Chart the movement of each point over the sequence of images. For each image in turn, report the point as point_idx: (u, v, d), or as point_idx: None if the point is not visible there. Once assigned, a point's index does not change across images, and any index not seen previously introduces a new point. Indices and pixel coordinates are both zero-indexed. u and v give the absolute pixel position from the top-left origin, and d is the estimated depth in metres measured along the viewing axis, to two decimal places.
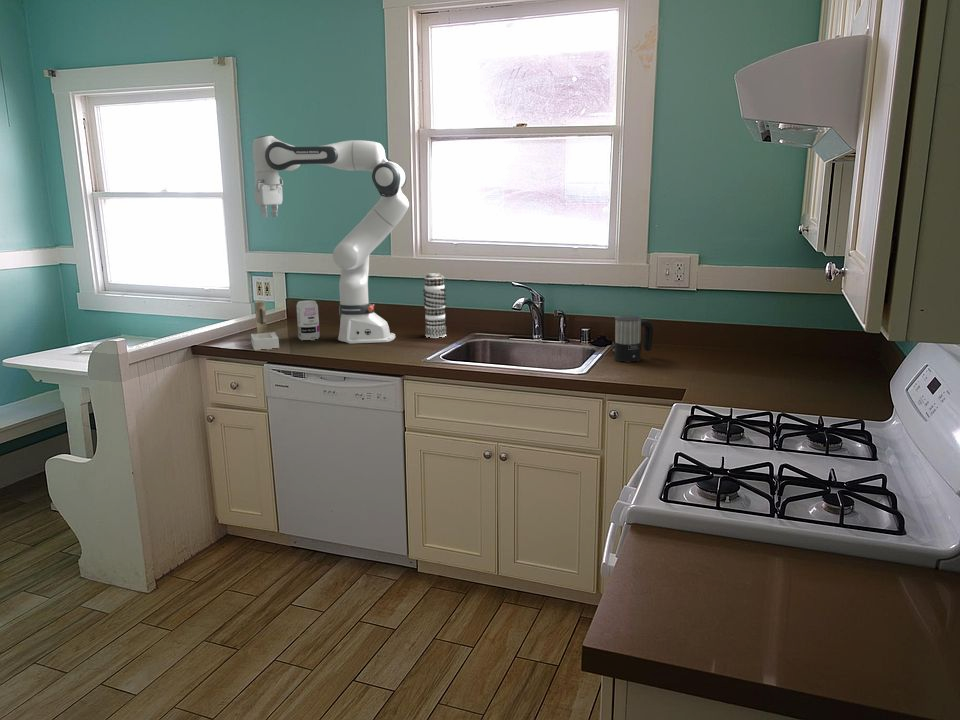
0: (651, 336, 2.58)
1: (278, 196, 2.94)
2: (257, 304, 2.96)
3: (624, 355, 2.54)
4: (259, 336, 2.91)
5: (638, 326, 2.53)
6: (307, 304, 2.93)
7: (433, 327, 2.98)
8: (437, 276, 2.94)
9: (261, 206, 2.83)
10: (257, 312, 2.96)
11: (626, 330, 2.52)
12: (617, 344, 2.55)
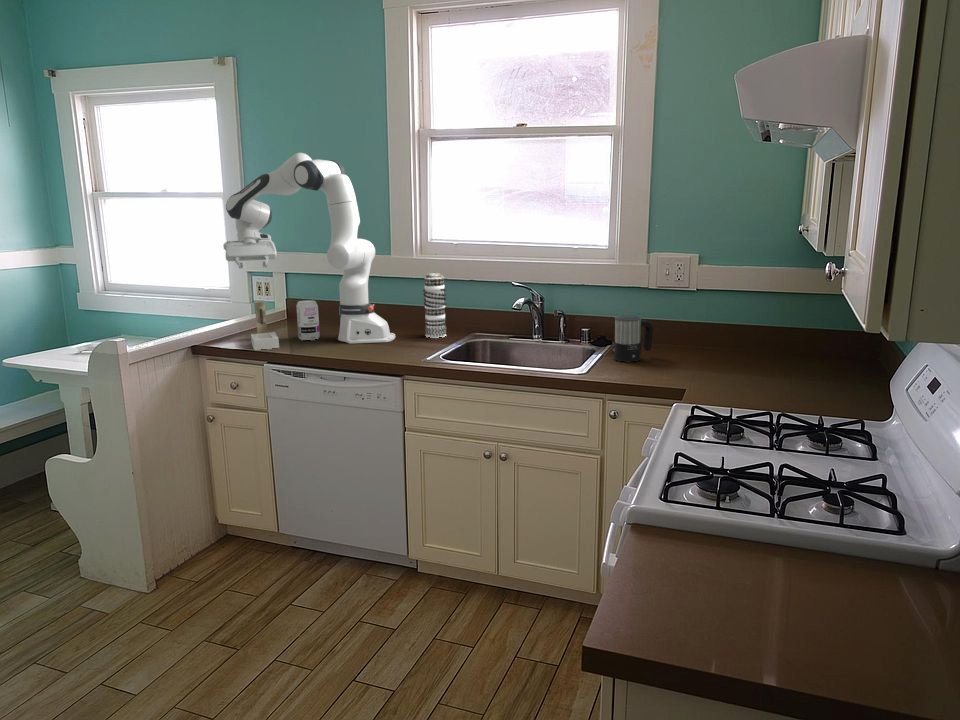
0: (651, 336, 2.58)
1: (265, 248, 3.11)
2: (257, 304, 2.95)
3: (623, 355, 2.54)
4: (259, 336, 2.91)
5: (638, 326, 2.53)
6: (307, 304, 2.93)
7: (433, 327, 2.98)
8: (437, 276, 2.94)
9: (235, 260, 3.07)
10: (257, 312, 2.96)
11: (626, 330, 2.52)
12: (617, 344, 2.55)
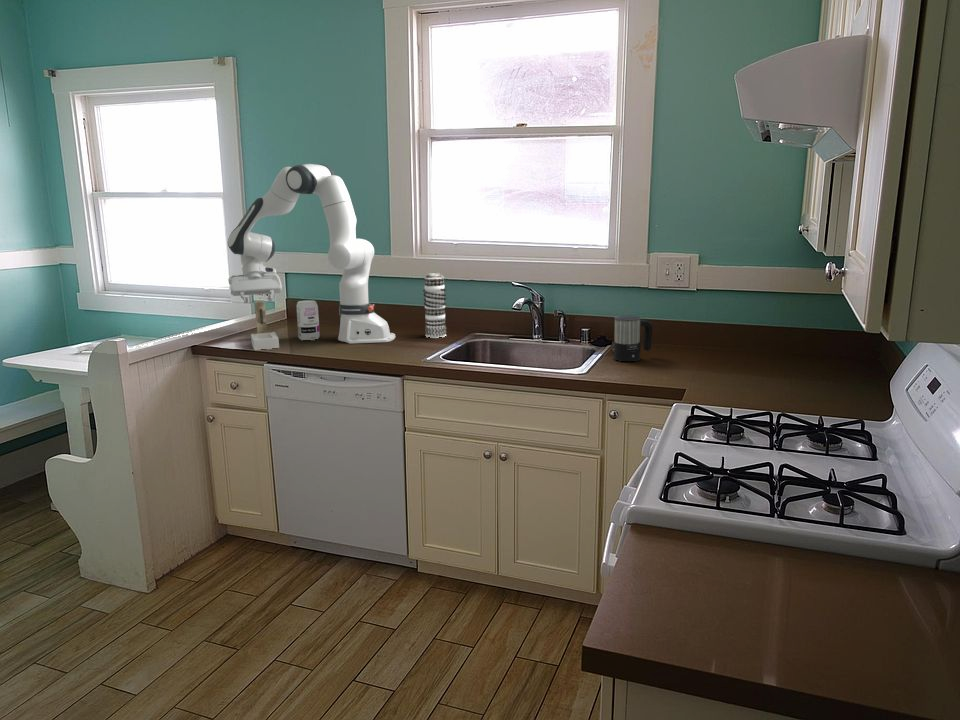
0: (650, 336, 2.58)
1: (271, 282, 3.09)
2: (257, 304, 2.96)
3: (623, 355, 2.54)
4: (259, 336, 2.91)
5: (637, 326, 2.53)
6: (307, 304, 2.93)
7: (433, 327, 2.98)
8: (437, 276, 2.94)
9: (240, 295, 3.05)
10: (257, 312, 2.96)
11: (625, 330, 2.52)
12: (616, 344, 2.56)
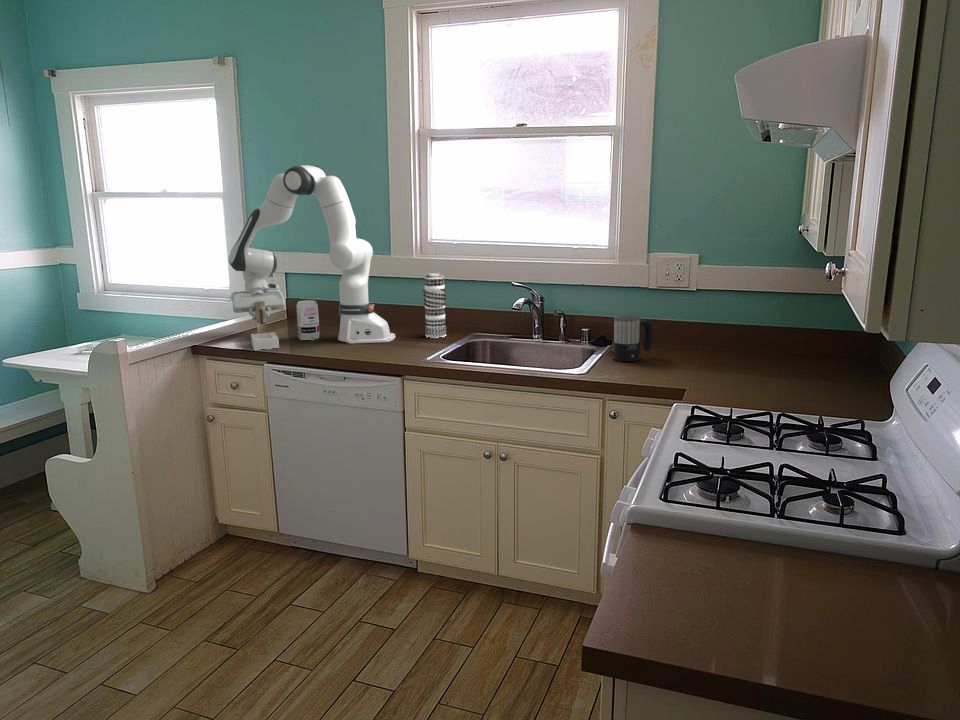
0: (650, 336, 2.58)
1: (273, 299, 3.03)
2: (257, 304, 2.95)
3: (622, 355, 2.54)
4: (259, 336, 2.91)
5: (637, 326, 2.53)
6: (307, 304, 2.93)
7: (433, 327, 2.98)
8: (437, 276, 2.94)
9: (248, 311, 3.00)
10: (257, 312, 2.96)
11: (625, 330, 2.52)
12: (616, 344, 2.56)
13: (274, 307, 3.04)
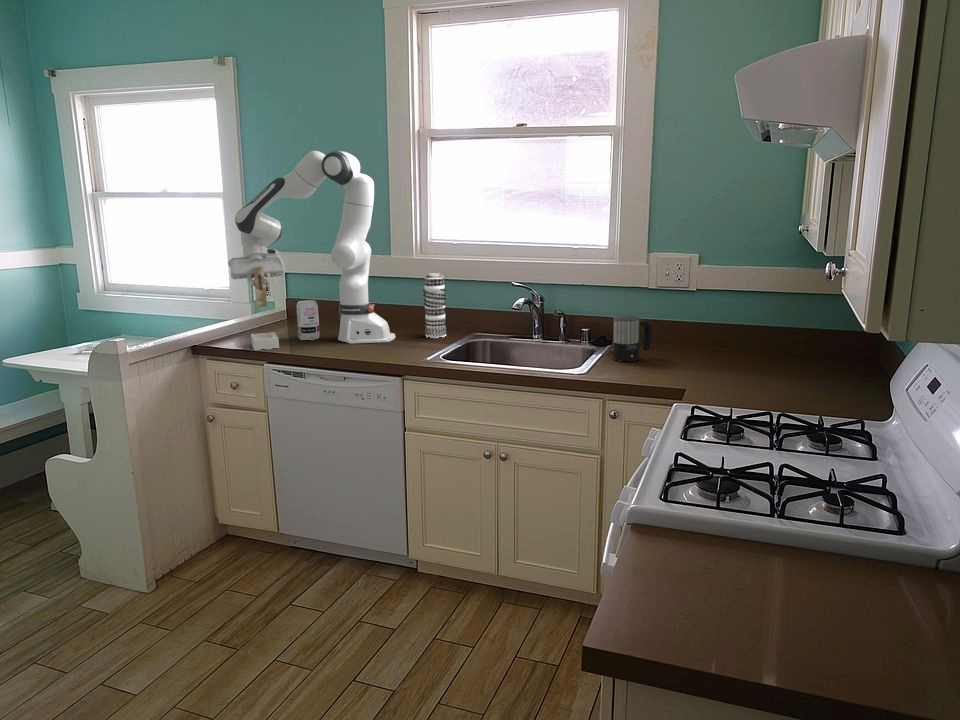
0: (649, 336, 2.58)
1: (273, 265, 2.92)
2: (255, 269, 2.84)
3: (622, 355, 2.55)
4: (259, 336, 2.91)
5: (636, 326, 2.53)
6: (307, 304, 2.93)
7: (433, 327, 2.98)
8: (437, 276, 2.94)
9: (247, 277, 2.89)
10: (256, 278, 2.85)
11: (624, 329, 2.52)
12: (615, 344, 2.56)
13: (273, 273, 2.93)
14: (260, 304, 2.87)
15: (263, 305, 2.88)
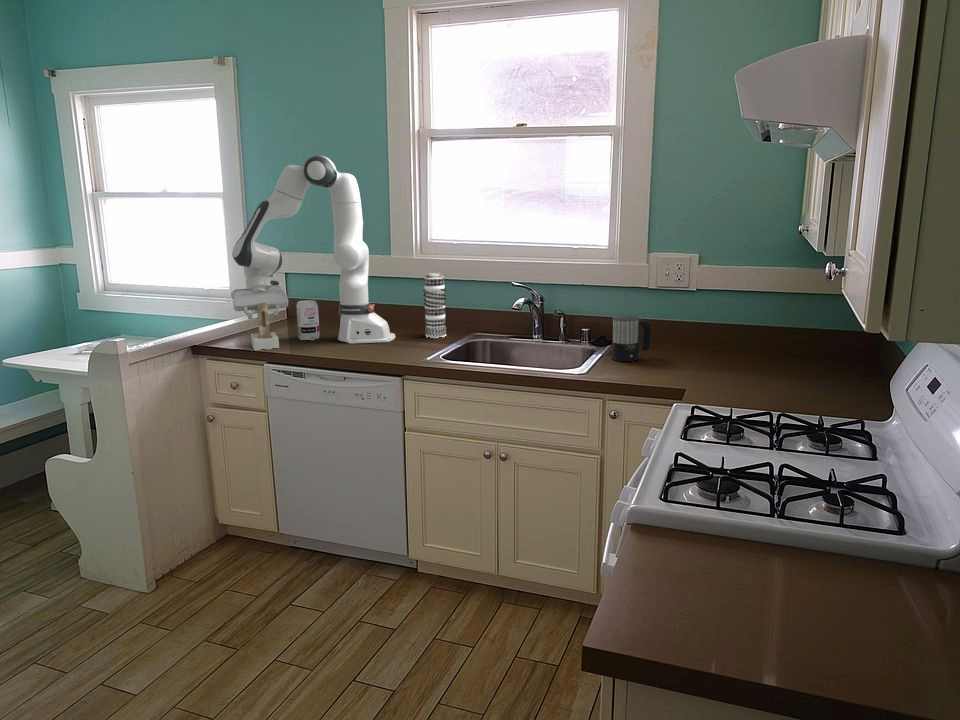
0: (649, 336, 2.58)
1: (276, 297, 2.89)
2: (259, 306, 2.81)
3: (621, 355, 2.55)
4: None
5: (635, 326, 2.53)
6: (307, 304, 2.93)
7: (433, 327, 2.98)
8: (437, 276, 2.94)
9: (243, 310, 2.84)
10: (259, 314, 2.82)
11: (623, 329, 2.53)
12: (614, 344, 2.56)
13: None
14: None
15: None
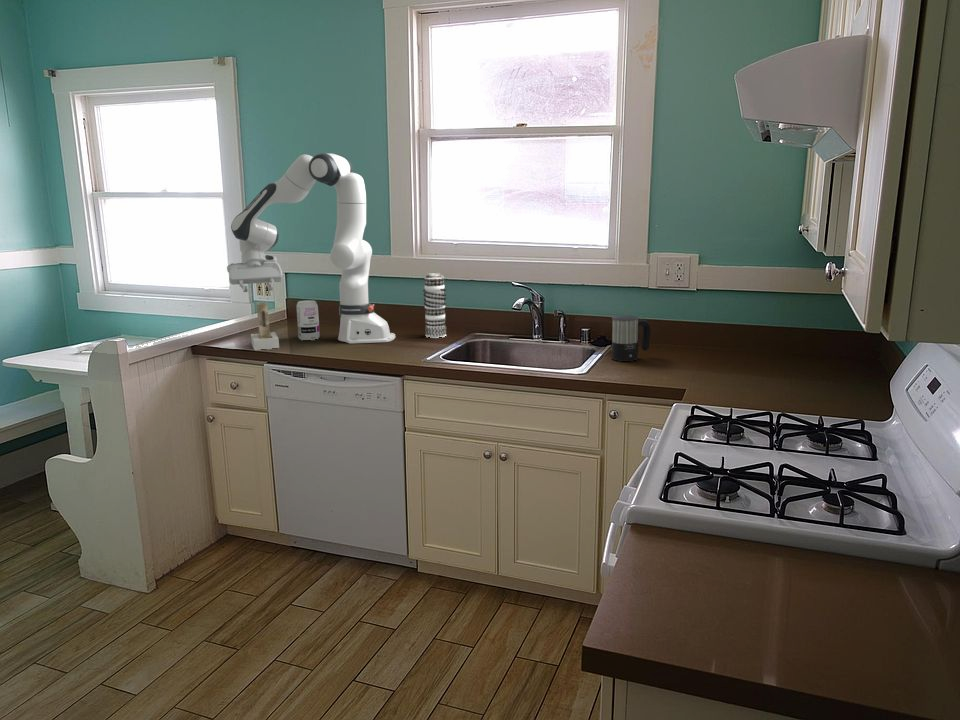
0: (648, 336, 2.58)
1: (271, 271, 2.97)
2: (259, 306, 2.81)
3: (620, 355, 2.55)
4: None
5: (635, 326, 2.53)
6: (307, 304, 2.93)
7: (433, 327, 2.98)
8: (437, 276, 2.94)
9: (239, 283, 2.93)
10: (259, 314, 2.82)
11: (623, 329, 2.53)
12: (614, 343, 2.56)
13: None
14: None
15: None
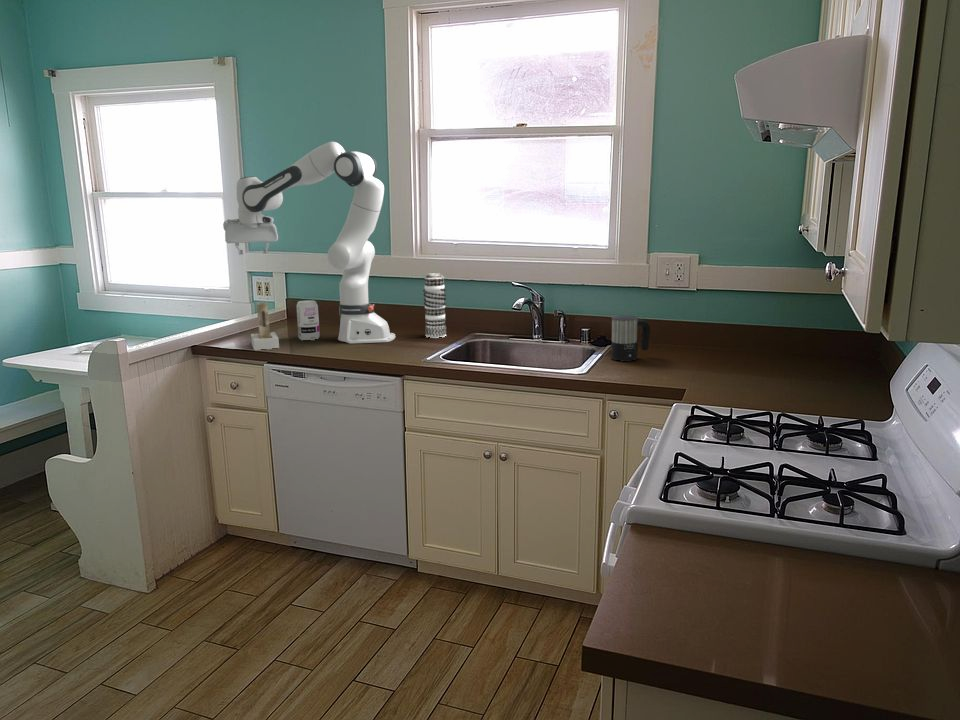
0: (648, 336, 2.59)
1: (267, 234, 3.01)
2: (259, 306, 2.81)
3: (620, 355, 2.55)
4: None
5: (634, 325, 2.54)
6: (307, 304, 2.93)
7: (433, 327, 2.98)
8: (437, 276, 2.94)
9: (235, 244, 2.99)
10: (259, 314, 2.82)
11: (622, 329, 2.53)
12: (613, 343, 2.57)
13: None
14: None
15: None
